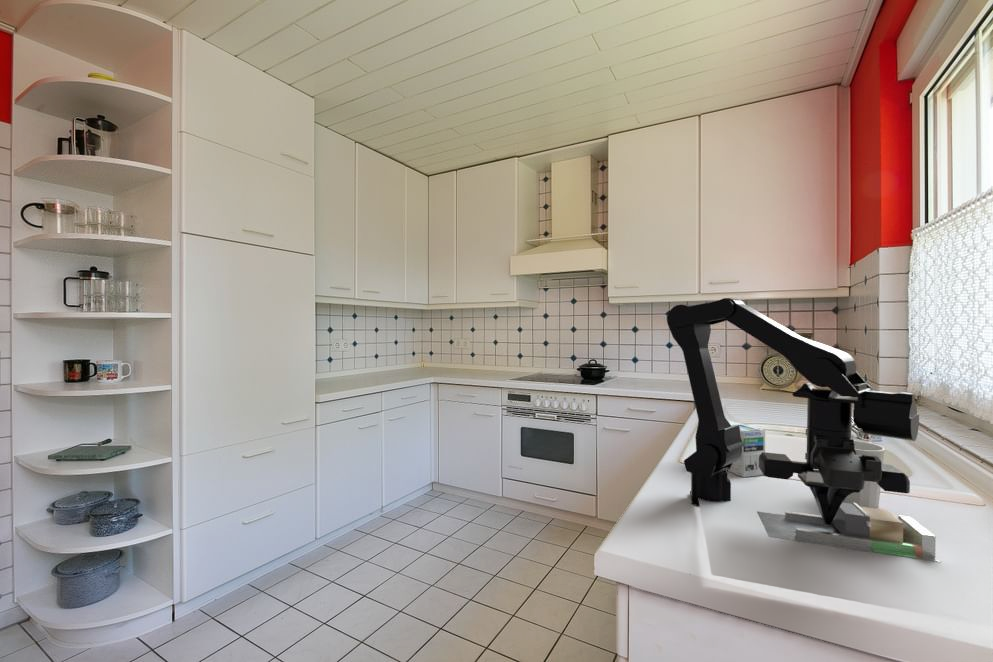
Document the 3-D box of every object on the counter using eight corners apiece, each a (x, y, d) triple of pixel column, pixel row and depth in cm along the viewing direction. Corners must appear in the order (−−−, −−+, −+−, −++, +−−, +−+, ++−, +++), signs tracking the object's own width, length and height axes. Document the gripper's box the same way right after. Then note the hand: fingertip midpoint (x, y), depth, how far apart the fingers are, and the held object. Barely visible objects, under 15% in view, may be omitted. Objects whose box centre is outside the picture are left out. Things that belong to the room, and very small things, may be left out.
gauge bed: (769, 543, 69) (769, 528, 69) (757, 518, 79) (757, 504, 79) (941, 570, 62) (941, 553, 62) (905, 538, 71) (905, 523, 71)
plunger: (848, 541, 67) (848, 514, 67) (834, 525, 72) (834, 500, 72) (872, 545, 66) (872, 517, 66) (856, 528, 71) (856, 502, 71)
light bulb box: (766, 475, 101) (767, 429, 101) (743, 478, 99) (743, 431, 99) (730, 461, 112) (730, 419, 111) (708, 464, 110) (708, 421, 109)
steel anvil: (921, 554, 64) (922, 534, 64) (898, 533, 70) (898, 515, 70) (935, 556, 63) (935, 536, 63) (910, 535, 70) (910, 516, 70)
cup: (895, 518, 78) (895, 452, 78) (844, 514, 80) (845, 449, 80) (867, 501, 86) (867, 440, 86) (821, 498, 88) (822, 438, 88)
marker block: (869, 544, 67) (869, 518, 67) (856, 530, 71) (856, 506, 71) (902, 549, 65) (903, 522, 65) (887, 534, 70) (887, 509, 70)
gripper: (772, 433, 66) (771, 535, 66) (931, 446, 59) (929, 560, 60) (758, 419, 77) (757, 507, 77) (892, 429, 70) (890, 526, 70)
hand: (827, 523), depth 71 cm, fingers closed
